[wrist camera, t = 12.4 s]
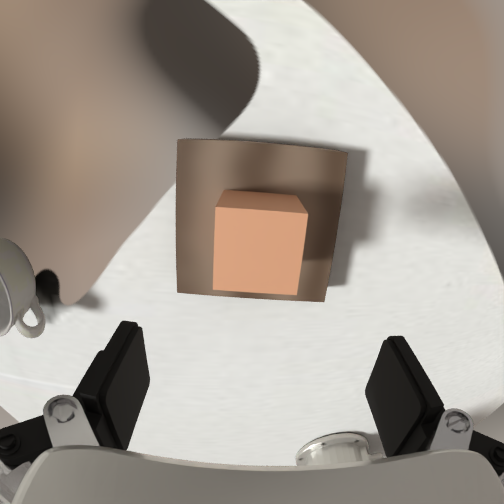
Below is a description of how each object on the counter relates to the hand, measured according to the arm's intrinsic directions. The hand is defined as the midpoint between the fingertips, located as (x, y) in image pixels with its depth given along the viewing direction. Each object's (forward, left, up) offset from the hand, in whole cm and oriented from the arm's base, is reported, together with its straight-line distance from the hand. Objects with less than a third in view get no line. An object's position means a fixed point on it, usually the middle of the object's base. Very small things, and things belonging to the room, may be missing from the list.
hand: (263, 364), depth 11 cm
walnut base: (0, 0, -20) cm, 20 cm away
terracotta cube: (0, 0, -17) cm, 17 cm away
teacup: (+29, +9, -20) cm, 36 cm away
